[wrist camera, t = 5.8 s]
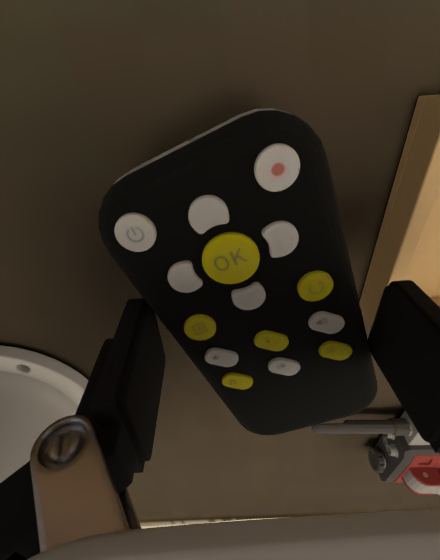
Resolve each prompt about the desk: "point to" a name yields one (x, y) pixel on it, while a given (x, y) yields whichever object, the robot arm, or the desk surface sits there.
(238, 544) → the robot arm
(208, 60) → the desk surface
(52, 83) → the desk surface
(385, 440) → the walkie-talkie
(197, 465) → the desk surface
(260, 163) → the remote control
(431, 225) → the tray
